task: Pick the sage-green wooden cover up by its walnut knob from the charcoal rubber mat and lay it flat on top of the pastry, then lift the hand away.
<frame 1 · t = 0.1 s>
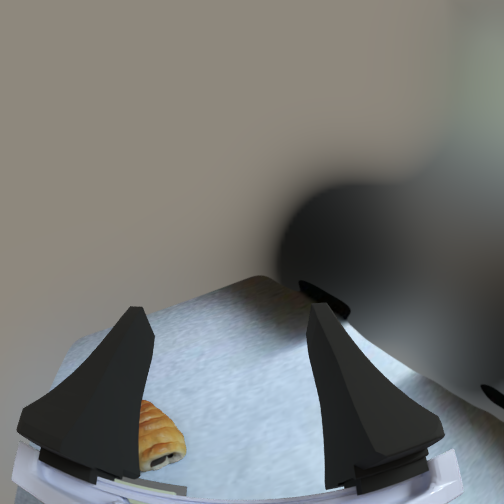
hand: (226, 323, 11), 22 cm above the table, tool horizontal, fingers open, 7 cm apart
pastry: (153, 441, 24), on the table
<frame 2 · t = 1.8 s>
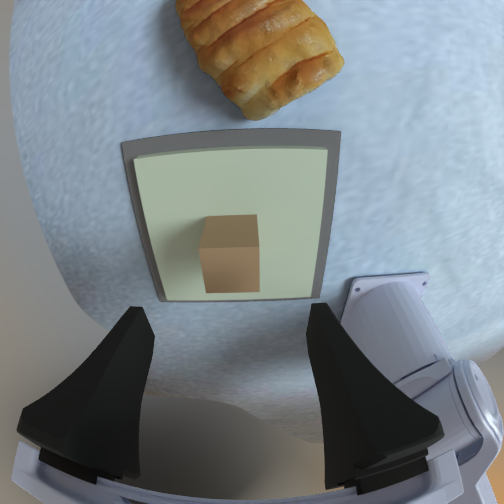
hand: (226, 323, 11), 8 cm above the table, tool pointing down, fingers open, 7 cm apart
cover: (233, 230, 18), resting on mat
mat: (233, 228, 18), on the table
pastry: (255, 45, 12), on the table
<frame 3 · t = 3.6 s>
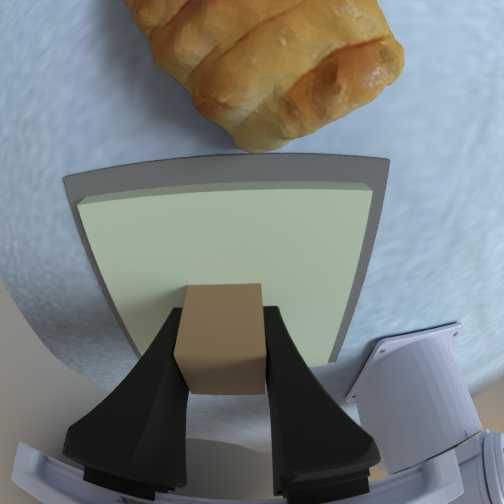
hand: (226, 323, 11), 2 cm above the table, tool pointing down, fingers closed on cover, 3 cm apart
cover: (227, 296, 12), resting on mat, touching gripper
mat: (228, 294, 13), on the table
pastry: (253, 26, 7), on the table
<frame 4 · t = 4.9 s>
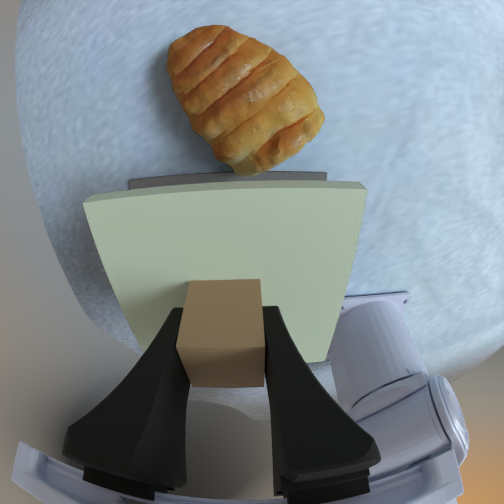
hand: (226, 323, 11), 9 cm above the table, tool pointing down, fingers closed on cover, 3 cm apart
cover: (228, 292, 13), point 7 cm above the table, touching gripper
mat: (230, 256, 20), on the table
pastry: (243, 101, 14), on the table
when the fingers open (7 cm above the table, at t = 6.5 s): cover drops 1 cm, point 3 cm above the table.
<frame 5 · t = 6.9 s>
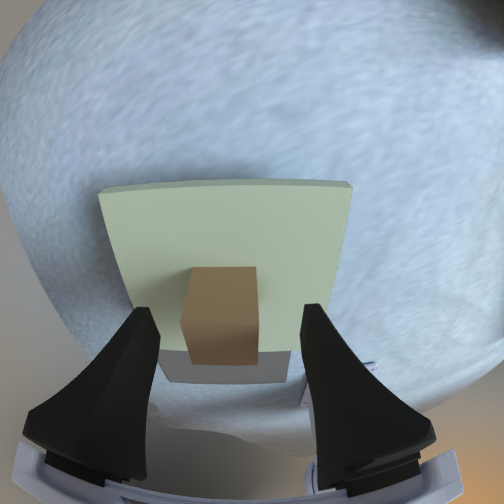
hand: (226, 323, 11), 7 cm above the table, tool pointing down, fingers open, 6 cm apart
cover: (226, 280, 14), point 3 cm above the table
mat: (219, 351, 24), on the table
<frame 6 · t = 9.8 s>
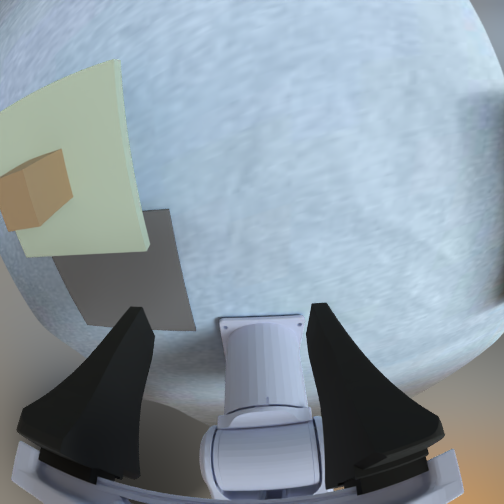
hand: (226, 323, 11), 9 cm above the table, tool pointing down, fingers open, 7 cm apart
cover: (56, 173, 13), point 3 cm above the table, touching pastry
mat: (115, 280, 22), on the table
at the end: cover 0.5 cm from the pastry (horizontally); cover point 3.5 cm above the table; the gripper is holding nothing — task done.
